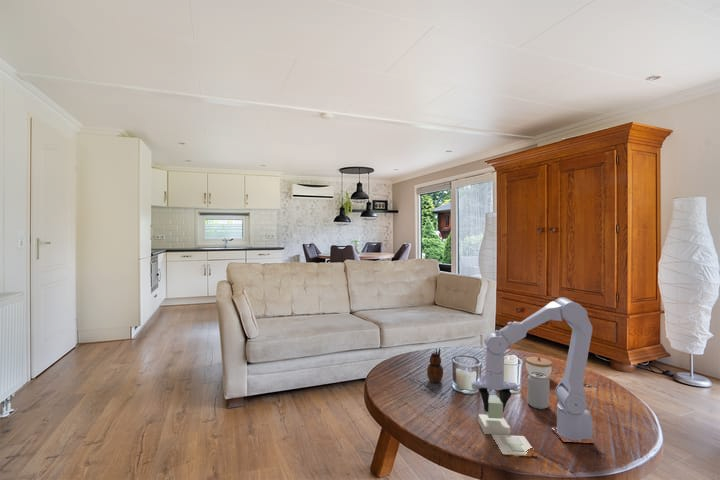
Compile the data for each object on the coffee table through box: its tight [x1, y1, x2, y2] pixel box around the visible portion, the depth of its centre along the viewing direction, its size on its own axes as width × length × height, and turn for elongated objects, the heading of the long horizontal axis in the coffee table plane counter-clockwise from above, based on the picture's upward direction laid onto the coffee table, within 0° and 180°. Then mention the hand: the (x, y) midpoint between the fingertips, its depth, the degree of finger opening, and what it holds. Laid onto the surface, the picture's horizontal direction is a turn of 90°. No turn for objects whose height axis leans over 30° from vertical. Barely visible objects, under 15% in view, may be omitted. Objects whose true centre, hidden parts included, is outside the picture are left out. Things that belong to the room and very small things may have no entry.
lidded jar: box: [525, 356, 553, 378], centre depth 164 cm, size 11×11×9 cm
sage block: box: [484, 396, 504, 419], centre depth 120 cm, size 4×4×5 cm
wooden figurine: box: [426, 347, 444, 384], centre depth 158 cm, size 7×6×15 cm
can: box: [526, 372, 550, 410], centre depth 136 cm, size 8×8×12 cm
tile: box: [491, 434, 533, 455], centre depth 110 cm, size 10×10×1 cm
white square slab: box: [477, 413, 511, 436], centre depth 120 cm, size 8×8×3 cm
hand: (493, 410), depth 120 cm, fingers closed on sage block, 4 cm apart
